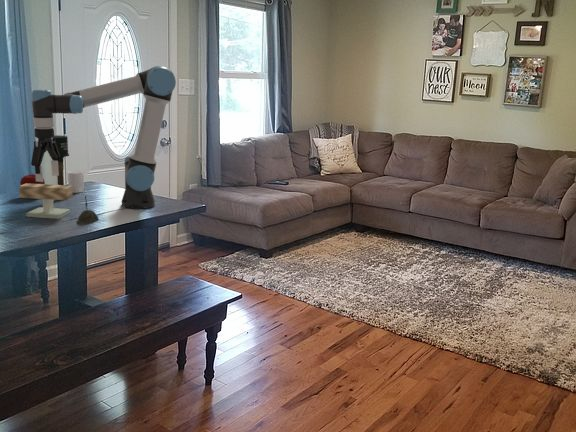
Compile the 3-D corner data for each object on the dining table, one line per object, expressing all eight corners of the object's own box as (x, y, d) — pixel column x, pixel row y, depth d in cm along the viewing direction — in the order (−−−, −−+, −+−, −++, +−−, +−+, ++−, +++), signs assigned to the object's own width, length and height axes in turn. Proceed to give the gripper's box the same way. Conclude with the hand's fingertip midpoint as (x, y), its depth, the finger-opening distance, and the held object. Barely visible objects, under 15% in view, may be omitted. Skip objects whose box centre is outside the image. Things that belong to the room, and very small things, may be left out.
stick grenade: (64, 202, 277) (61, 137, 270) (48, 200, 279) (44, 136, 271) (74, 198, 285) (72, 136, 278) (58, 197, 287) (55, 134, 279)
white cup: (64, 191, 298) (63, 172, 296) (75, 189, 305) (75, 170, 303) (77, 193, 295) (76, 174, 293) (88, 191, 302) (87, 171, 300)
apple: (21, 195, 286) (19, 171, 283) (45, 194, 290) (43, 171, 287) (21, 200, 276) (19, 175, 273) (45, 199, 280) (44, 175, 277)
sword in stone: (82, 217, 252) (82, 190, 249) (100, 219, 252) (101, 192, 249) (73, 224, 242) (73, 195, 240) (92, 225, 243) (93, 197, 240)
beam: (72, 197, 255) (72, 185, 254) (67, 200, 249) (66, 188, 248) (26, 194, 255) (25, 183, 254) (19, 197, 250) (19, 186, 248)
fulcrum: (70, 212, 259) (69, 195, 257) (58, 218, 248) (57, 201, 246) (39, 210, 260) (38, 193, 258) (26, 216, 249) (25, 199, 248)
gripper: (50, 124, 257) (53, 172, 263) (19, 130, 233) (23, 183, 239) (66, 125, 257) (69, 173, 262) (37, 131, 233) (41, 184, 238)
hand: (47, 178), depth 250 cm, fingers open, 13 cm apart
